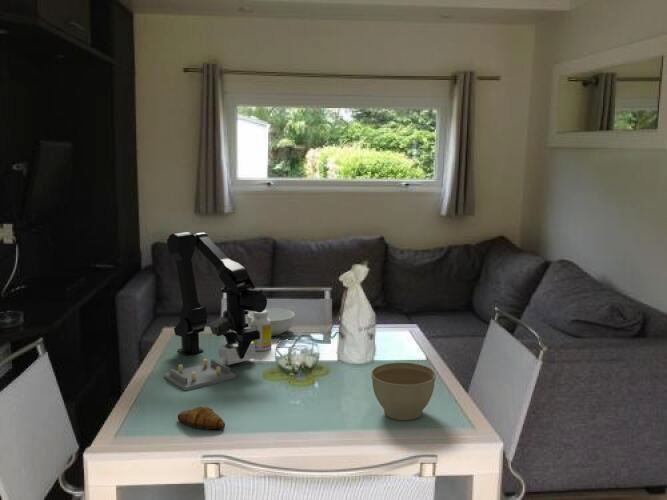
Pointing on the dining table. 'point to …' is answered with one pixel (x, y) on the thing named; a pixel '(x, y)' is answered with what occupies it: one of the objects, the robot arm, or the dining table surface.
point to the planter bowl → (403, 388)
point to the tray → (200, 375)
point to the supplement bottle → (262, 330)
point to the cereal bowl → (277, 320)
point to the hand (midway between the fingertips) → (237, 356)
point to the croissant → (202, 418)
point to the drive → (234, 353)
